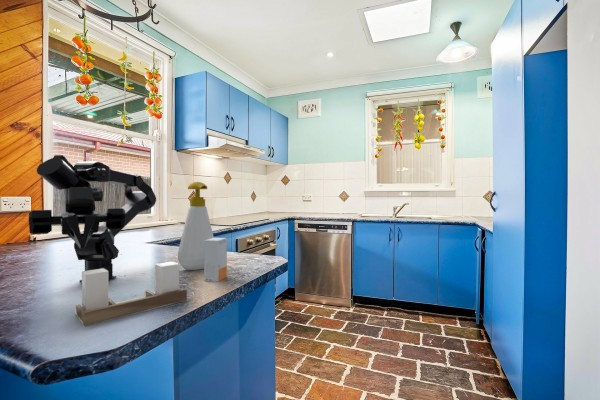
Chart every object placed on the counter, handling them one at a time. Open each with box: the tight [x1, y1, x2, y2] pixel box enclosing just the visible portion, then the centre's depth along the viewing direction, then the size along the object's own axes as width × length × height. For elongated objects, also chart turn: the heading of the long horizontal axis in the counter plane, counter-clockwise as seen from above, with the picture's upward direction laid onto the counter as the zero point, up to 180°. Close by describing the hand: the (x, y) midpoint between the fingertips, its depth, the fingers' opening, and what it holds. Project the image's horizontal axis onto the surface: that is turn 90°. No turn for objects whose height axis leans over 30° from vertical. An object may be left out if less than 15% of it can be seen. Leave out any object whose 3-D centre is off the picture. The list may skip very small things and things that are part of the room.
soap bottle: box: [177, 181, 215, 271], centre depth 97 cm, size 13×10×29 cm
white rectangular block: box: [154, 261, 180, 295], centre depth 67 cm, size 4×4×8 cm
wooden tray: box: [74, 288, 188, 327], centre depth 64 cm, size 10×19×3 cm, turn 136°
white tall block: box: [81, 268, 110, 311], centre depth 61 cm, size 4×4×8 cm
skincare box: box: [203, 237, 228, 283], centre depth 85 cm, size 6×4×12 cm
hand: (82, 247), depth 68 cm, fingers closed
